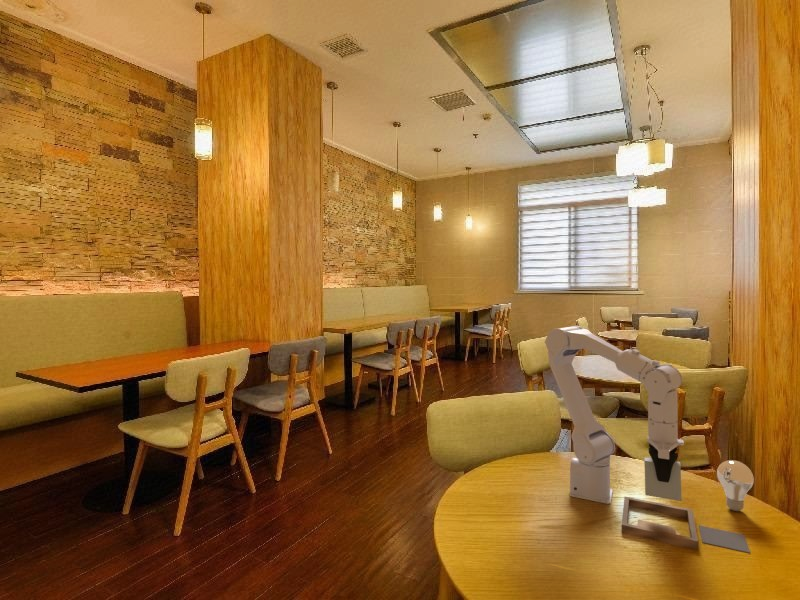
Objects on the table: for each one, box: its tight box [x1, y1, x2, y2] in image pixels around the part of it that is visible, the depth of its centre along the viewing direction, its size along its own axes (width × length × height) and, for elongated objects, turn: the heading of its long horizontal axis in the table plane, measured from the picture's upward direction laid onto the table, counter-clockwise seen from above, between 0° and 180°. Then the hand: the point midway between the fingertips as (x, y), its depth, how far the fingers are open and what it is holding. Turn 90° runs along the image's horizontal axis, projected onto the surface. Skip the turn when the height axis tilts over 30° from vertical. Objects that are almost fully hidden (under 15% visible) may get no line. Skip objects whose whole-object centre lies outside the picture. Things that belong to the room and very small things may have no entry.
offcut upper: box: [636, 519, 677, 534], centre depth 97 cm, size 7×3×1 cm, turn 59°
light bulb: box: [716, 459, 755, 513], centre depth 105 cm, size 7×7×12 cm
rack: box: [621, 496, 699, 551], centre depth 100 cm, size 14×14×2 cm
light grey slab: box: [643, 456, 682, 502], centre depth 100 cm, size 7×2×8 cm, turn 60°
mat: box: [698, 525, 751, 554], centre depth 94 cm, size 8×7×1 cm
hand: (663, 478), depth 100 cm, fingers closed on light grey slab, 2 cm apart
